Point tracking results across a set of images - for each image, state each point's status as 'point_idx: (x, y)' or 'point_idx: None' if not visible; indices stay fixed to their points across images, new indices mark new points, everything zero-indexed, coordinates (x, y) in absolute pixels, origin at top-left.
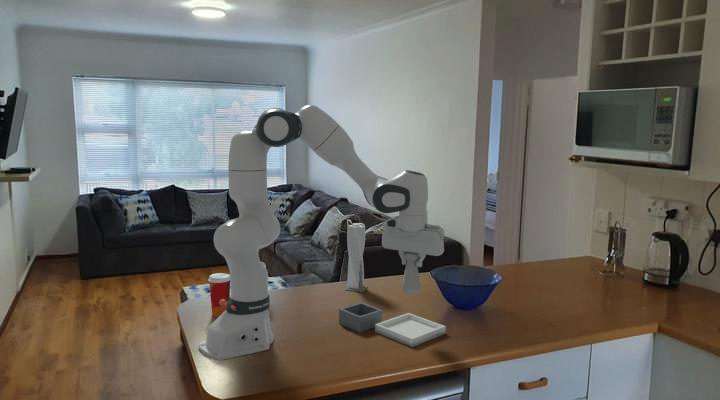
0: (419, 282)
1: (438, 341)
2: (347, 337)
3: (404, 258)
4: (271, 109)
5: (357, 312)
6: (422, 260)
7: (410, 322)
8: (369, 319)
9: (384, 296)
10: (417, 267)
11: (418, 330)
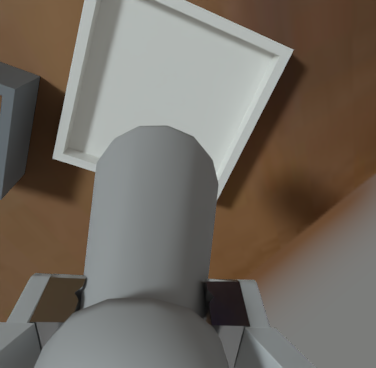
0: (216, 196)
1: (272, 124)
2: (23, 217)
3: (36, 359)
4: None
5: None
6: (279, 340)
7: (135, 28)
8: (15, 148)
9: None
10: (207, 275)
11: (194, 95)
